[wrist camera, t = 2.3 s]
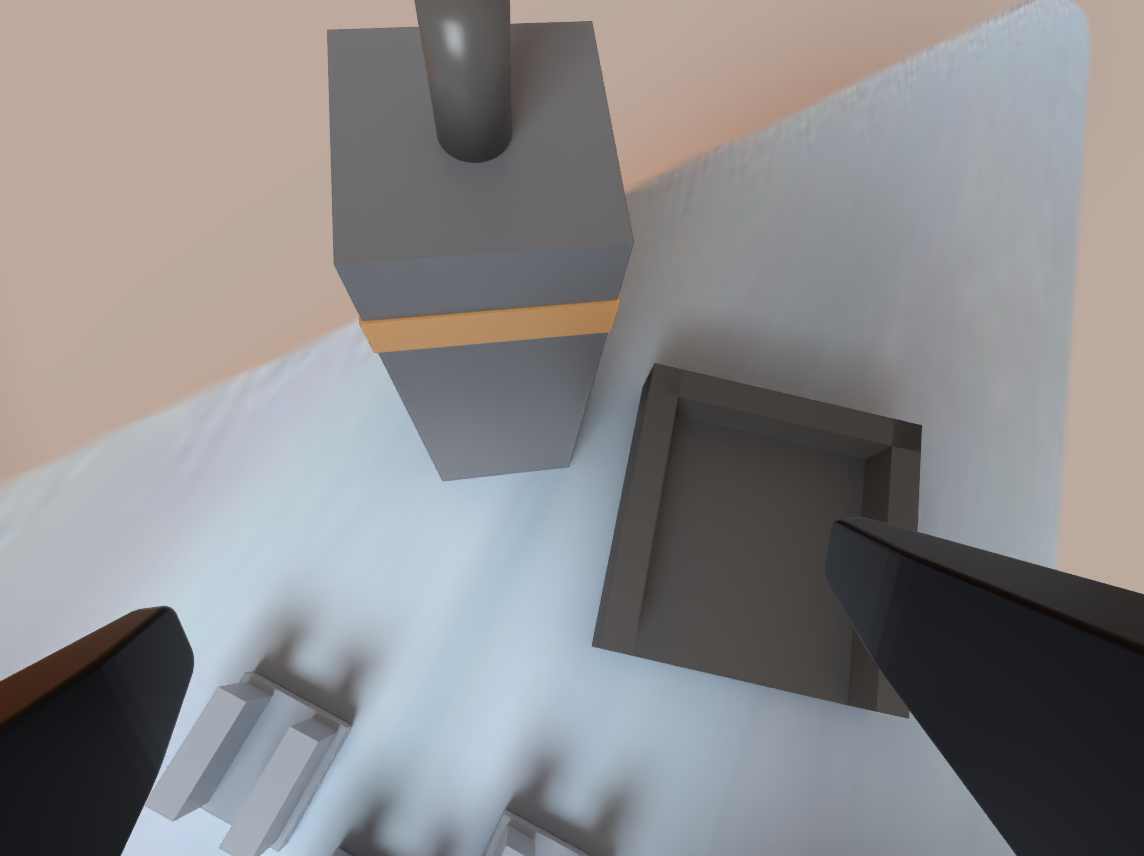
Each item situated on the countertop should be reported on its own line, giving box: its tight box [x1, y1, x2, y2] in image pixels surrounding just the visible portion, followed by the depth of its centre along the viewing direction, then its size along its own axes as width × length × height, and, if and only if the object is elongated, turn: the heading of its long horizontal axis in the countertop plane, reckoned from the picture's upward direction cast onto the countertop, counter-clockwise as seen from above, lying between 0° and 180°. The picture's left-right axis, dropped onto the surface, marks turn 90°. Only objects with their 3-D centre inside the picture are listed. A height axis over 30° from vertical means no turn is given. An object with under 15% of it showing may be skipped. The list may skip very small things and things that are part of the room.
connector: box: [327, 0, 634, 481], centre depth 16 cm, size 5×5×16 cm
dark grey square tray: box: [592, 363, 922, 718], centre depth 22 cm, size 10×10×2 cm
